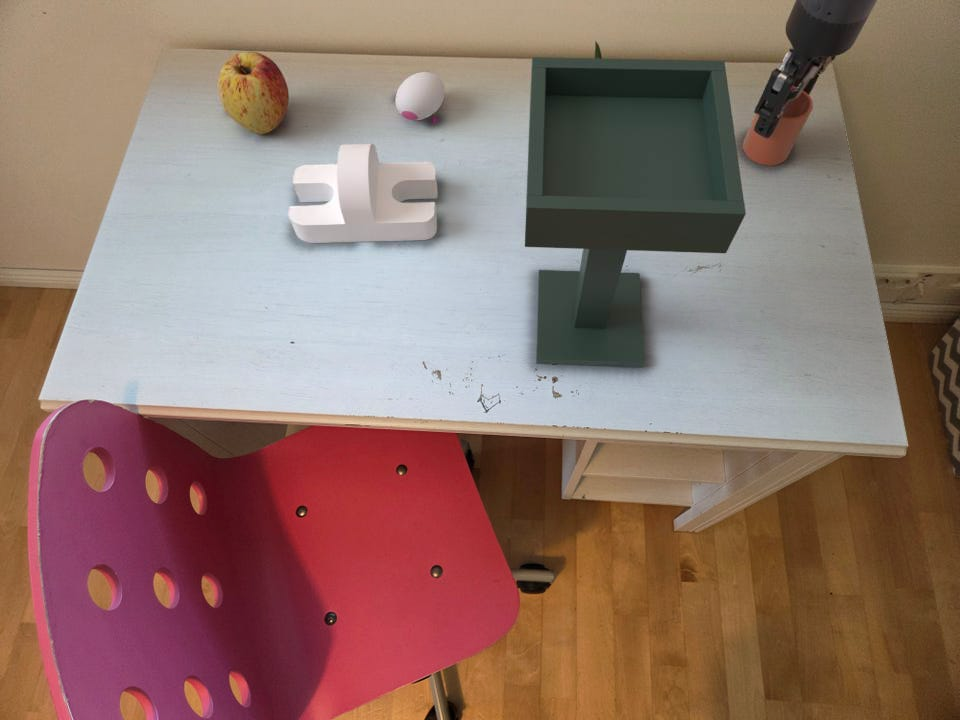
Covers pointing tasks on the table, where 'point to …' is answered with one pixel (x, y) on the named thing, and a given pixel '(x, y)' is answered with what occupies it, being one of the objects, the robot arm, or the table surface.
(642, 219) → the green pedestal tray
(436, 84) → the white oval piece
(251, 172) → the table surface
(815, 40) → the robot arm
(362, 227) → the slotted bracket
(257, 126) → the apple
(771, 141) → the cup
